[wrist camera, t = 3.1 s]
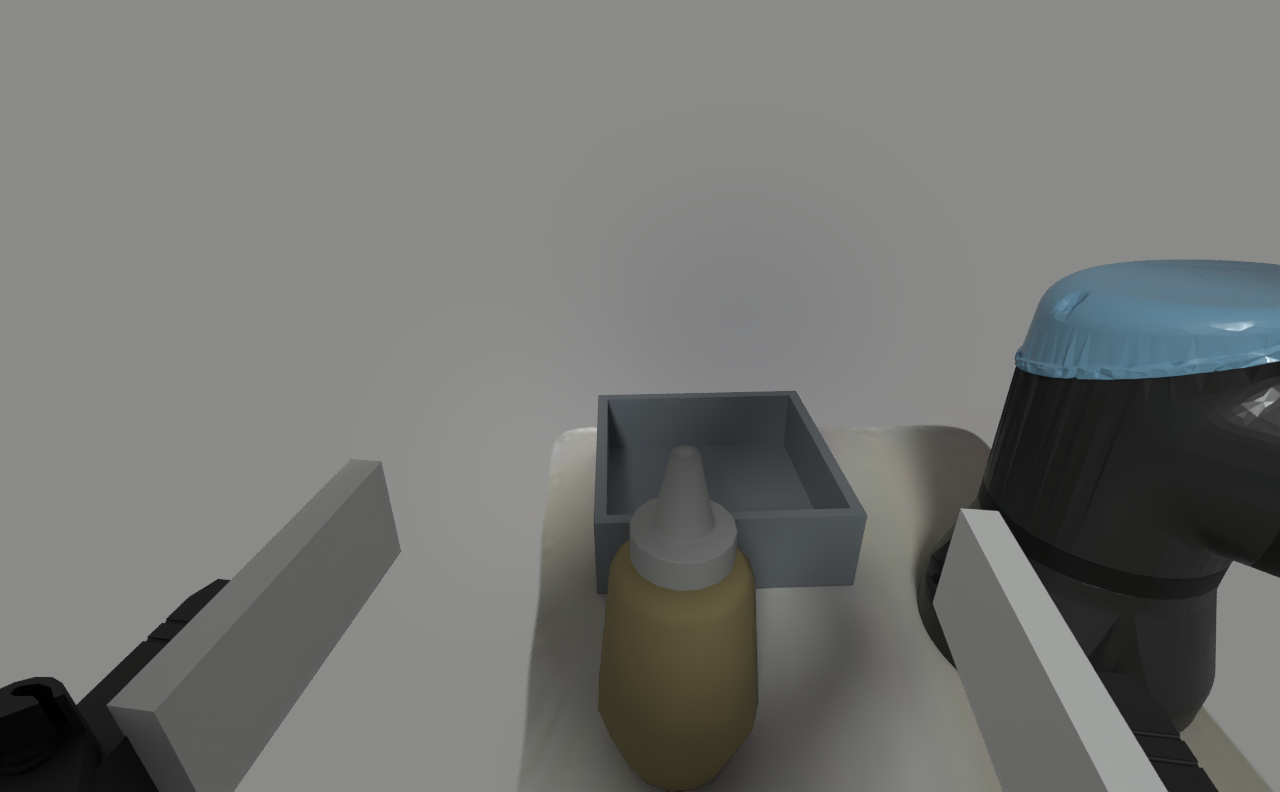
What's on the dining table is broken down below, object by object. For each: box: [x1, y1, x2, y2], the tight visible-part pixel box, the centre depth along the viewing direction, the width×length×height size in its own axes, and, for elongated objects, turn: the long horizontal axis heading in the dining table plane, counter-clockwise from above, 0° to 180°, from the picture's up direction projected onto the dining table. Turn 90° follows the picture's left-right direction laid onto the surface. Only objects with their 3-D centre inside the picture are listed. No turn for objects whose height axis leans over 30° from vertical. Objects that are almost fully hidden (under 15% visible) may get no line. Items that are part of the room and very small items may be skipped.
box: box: [594, 391, 867, 593], centre depth 49 cm, size 18×18×6 cm
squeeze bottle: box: [599, 445, 758, 791], centre depth 29 cm, size 8×8×18 cm
